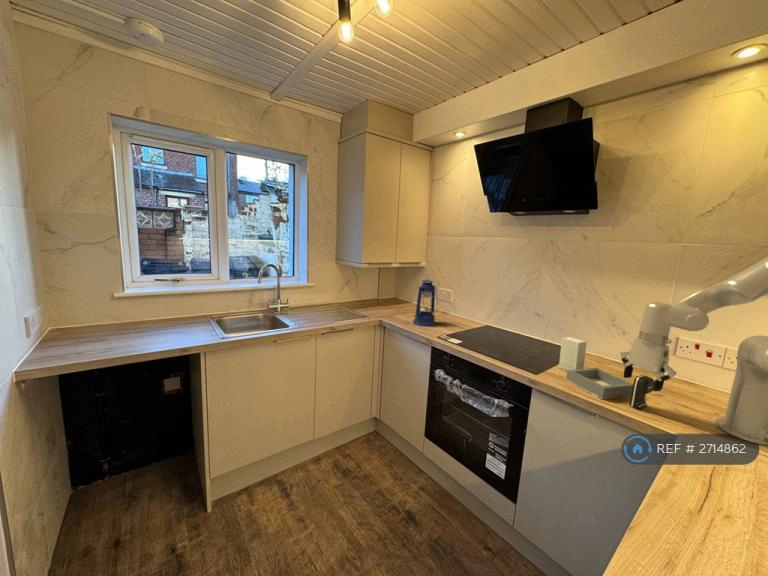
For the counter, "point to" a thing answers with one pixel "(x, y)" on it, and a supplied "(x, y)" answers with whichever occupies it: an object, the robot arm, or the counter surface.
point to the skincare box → (572, 354)
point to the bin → (599, 383)
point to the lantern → (426, 314)
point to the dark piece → (641, 391)
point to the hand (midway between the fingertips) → (641, 383)
